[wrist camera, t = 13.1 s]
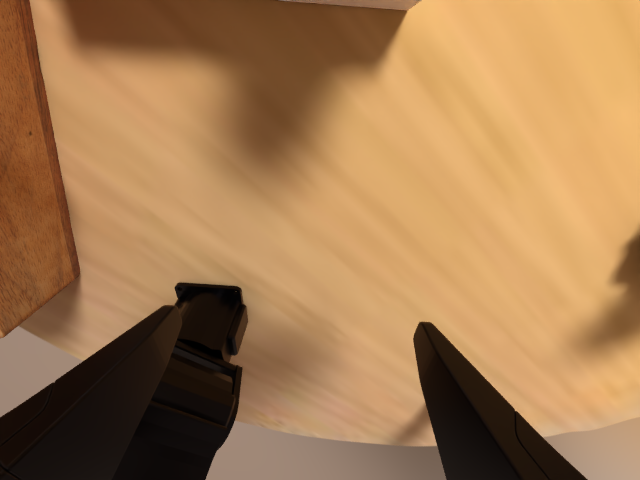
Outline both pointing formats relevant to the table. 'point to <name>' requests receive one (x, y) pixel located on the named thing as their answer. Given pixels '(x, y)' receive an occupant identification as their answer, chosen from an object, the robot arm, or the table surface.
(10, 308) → the wooden box
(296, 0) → the white board
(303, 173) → the table surface
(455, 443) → the robot arm
